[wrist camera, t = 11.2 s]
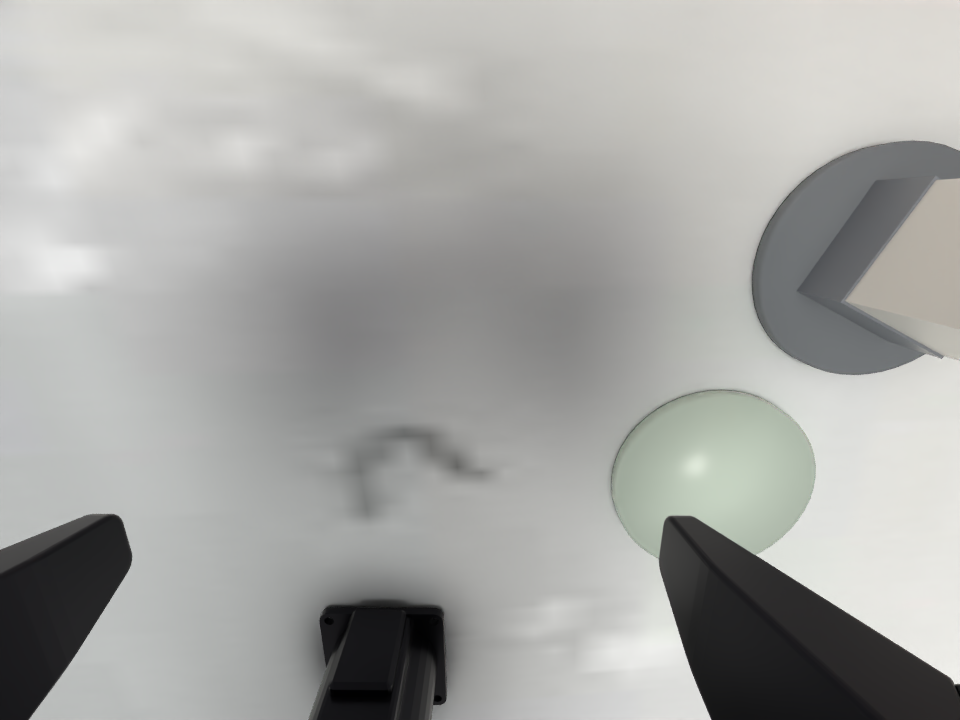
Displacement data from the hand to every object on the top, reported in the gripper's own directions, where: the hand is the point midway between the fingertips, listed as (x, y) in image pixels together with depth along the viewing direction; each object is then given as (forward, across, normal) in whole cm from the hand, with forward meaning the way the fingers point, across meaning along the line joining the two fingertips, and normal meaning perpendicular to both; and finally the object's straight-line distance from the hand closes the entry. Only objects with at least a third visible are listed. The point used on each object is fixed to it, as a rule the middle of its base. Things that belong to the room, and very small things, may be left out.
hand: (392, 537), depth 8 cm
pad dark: (+13, -17, -3) cm, 22 cm away
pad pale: (+13, -12, +7) cm, 19 cm away
